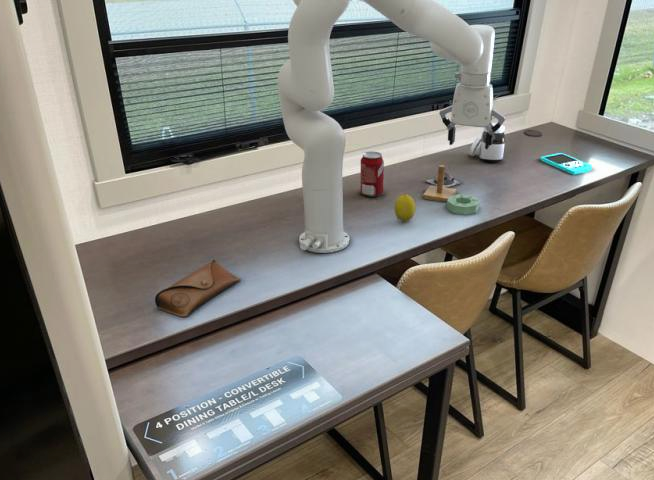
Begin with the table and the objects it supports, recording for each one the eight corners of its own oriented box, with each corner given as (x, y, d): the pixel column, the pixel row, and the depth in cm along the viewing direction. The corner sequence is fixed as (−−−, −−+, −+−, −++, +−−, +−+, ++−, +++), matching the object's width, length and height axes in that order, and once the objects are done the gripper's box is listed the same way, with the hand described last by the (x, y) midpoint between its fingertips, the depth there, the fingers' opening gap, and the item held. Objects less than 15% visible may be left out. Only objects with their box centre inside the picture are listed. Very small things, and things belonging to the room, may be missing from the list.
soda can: (373, 200, 175) (374, 160, 168) (355, 194, 178) (355, 154, 172) (387, 193, 180) (388, 154, 173) (370, 187, 183) (370, 149, 176)
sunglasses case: (186, 317, 121) (169, 288, 119) (167, 323, 125) (149, 296, 124) (243, 278, 135) (228, 252, 133) (224, 285, 139) (209, 259, 137)
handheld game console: (572, 175, 196) (573, 171, 195) (539, 160, 208) (539, 156, 207) (594, 170, 200) (595, 166, 200) (560, 155, 212) (561, 152, 211)
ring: (473, 216, 167) (474, 208, 166) (444, 211, 169) (444, 203, 168) (479, 205, 174) (480, 197, 172) (451, 200, 176) (452, 193, 175)
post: (449, 202, 175) (451, 172, 170) (422, 198, 177) (424, 168, 172) (455, 192, 181) (458, 163, 176) (430, 188, 183) (432, 159, 178)
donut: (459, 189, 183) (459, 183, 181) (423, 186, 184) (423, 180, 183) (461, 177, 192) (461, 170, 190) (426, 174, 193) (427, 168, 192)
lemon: (418, 222, 163) (420, 194, 159) (405, 228, 160) (406, 200, 155) (403, 215, 166) (404, 188, 162) (389, 221, 163) (390, 194, 158)
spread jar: (503, 165, 202) (508, 131, 196) (470, 164, 202) (473, 130, 196) (498, 153, 212) (502, 120, 206) (466, 152, 212) (469, 119, 206)
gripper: (438, 79, 151) (434, 146, 160) (507, 85, 146) (499, 153, 156) (445, 73, 157) (441, 137, 166) (512, 78, 152) (504, 145, 161)
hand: (469, 145), depth 161 cm, fingers open, 9 cm apart
